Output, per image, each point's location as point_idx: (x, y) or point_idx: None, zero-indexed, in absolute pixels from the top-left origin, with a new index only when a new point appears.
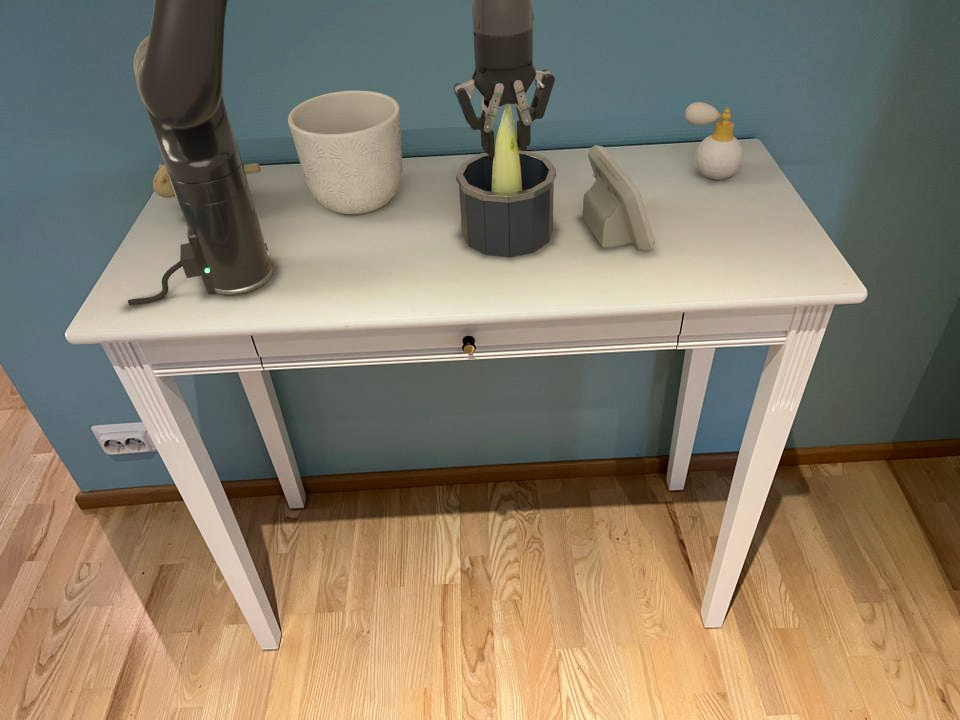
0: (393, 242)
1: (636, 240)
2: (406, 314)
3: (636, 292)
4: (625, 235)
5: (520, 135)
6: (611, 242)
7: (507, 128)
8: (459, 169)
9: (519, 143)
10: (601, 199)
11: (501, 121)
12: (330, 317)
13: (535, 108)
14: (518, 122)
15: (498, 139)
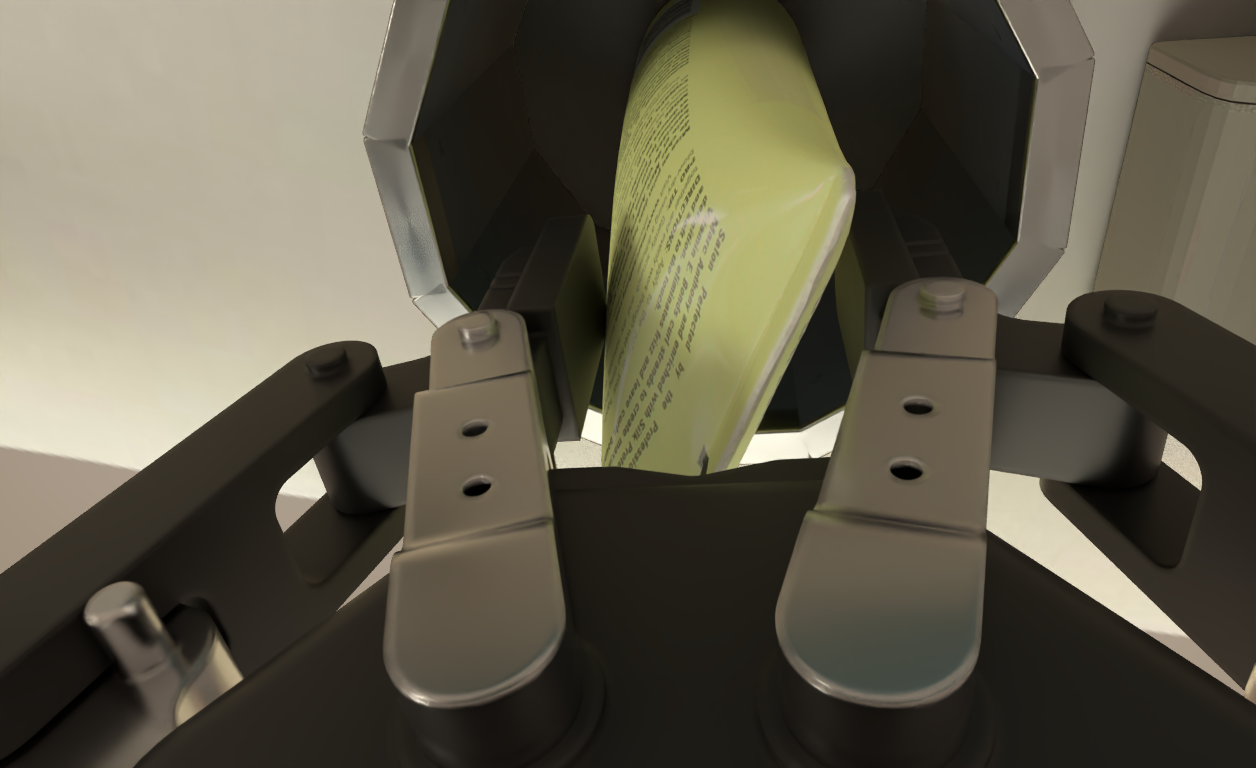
0: (158, 23)
1: None
2: (297, 482)
3: (1041, 562)
4: None
5: (850, 331)
6: None
7: None
8: (385, 66)
9: (840, 260)
10: (1246, 256)
11: (686, 309)
12: (62, 440)
13: (1096, 452)
14: (867, 324)
15: None
